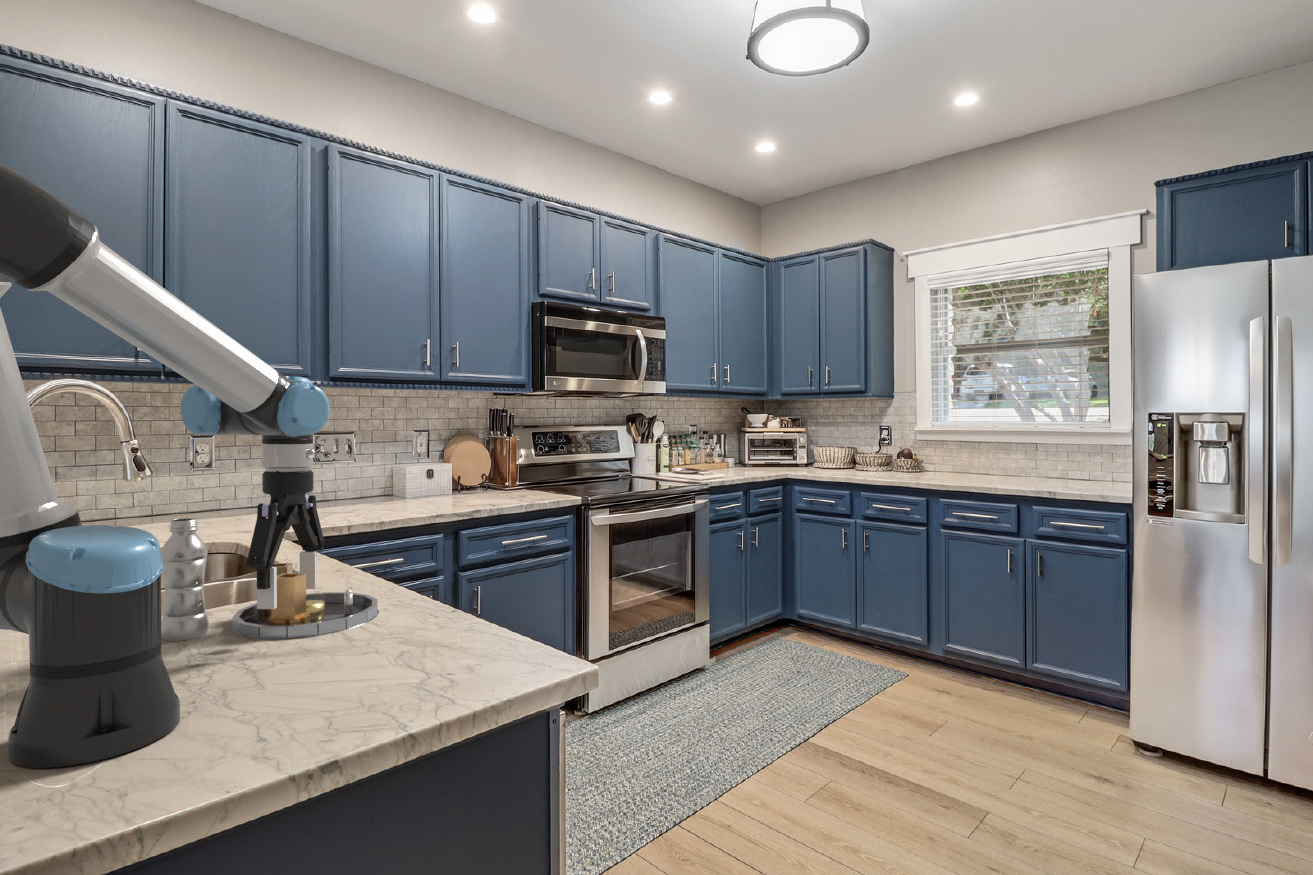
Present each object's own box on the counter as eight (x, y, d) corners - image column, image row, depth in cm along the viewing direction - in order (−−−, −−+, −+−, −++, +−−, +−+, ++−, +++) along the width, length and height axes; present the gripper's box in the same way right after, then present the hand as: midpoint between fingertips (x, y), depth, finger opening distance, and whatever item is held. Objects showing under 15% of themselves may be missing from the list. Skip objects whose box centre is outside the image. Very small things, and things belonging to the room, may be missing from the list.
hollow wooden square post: (298, 635, 111) (297, 580, 111) (259, 635, 111) (259, 579, 111) (316, 624, 118) (316, 571, 117) (280, 623, 118) (280, 571, 117)
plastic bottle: (169, 652, 106) (168, 523, 106) (154, 643, 111) (153, 519, 110) (215, 641, 112) (214, 519, 111) (199, 633, 116) (198, 515, 115)
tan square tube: (293, 618, 121) (292, 568, 120) (253, 621, 119) (253, 569, 119) (301, 609, 126) (301, 561, 126) (264, 611, 125) (264, 562, 125)
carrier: (344, 646, 110) (343, 610, 109) (200, 645, 110) (200, 608, 109) (398, 607, 133) (398, 577, 132) (279, 606, 133) (279, 576, 132)
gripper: (269, 475, 102) (270, 619, 102) (344, 465, 126) (344, 581, 127) (218, 474, 102) (219, 618, 102) (303, 464, 126) (304, 580, 127)
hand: (288, 598), depth 114 cm, fingers open, 12 cm apart
